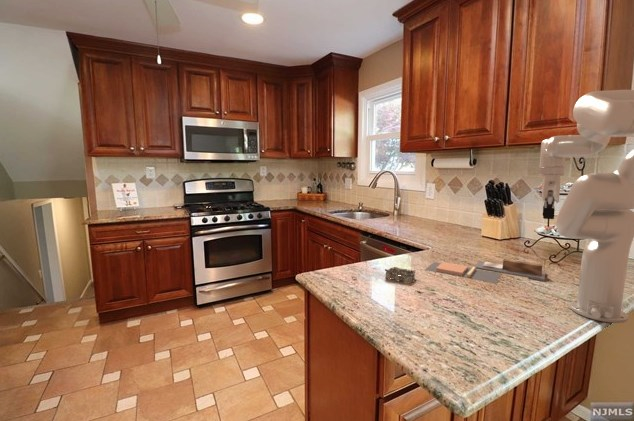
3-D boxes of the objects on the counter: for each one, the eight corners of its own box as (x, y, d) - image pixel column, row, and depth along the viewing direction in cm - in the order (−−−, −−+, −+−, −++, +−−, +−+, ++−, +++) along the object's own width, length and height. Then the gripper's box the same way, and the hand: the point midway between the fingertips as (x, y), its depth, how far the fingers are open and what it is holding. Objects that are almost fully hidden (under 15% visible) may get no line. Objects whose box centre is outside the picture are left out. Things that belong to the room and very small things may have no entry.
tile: (462, 272, 120) (436, 267, 126) (462, 275, 121) (435, 270, 127) (467, 266, 128) (442, 261, 134) (467, 268, 128) (442, 264, 134)
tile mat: (495, 284, 112) (496, 280, 112) (424, 270, 128) (424, 266, 128) (500, 274, 123) (501, 270, 122) (434, 263, 138) (434, 259, 138)
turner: (542, 272, 122) (542, 263, 122) (541, 276, 117) (542, 267, 117) (485, 263, 134) (485, 255, 134) (482, 266, 130) (483, 258, 129)
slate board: (544, 281, 115) (544, 278, 115) (474, 269, 130) (474, 266, 130) (545, 273, 123) (545, 271, 123) (478, 263, 138) (478, 260, 137)
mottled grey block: (383, 279, 120) (383, 269, 120) (391, 273, 126) (391, 264, 126) (409, 285, 114) (409, 274, 113) (417, 279, 120) (417, 268, 119)
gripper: (566, 171, 106) (562, 220, 108) (562, 172, 120) (559, 215, 122) (539, 172, 111) (535, 219, 112) (538, 172, 125) (535, 214, 126)
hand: (547, 217), depth 117 cm, fingers open, 9 cm apart
